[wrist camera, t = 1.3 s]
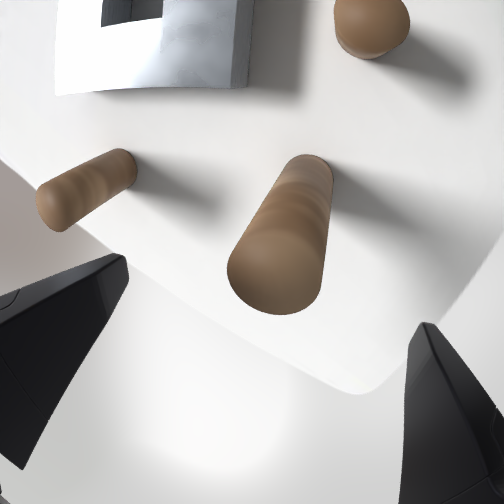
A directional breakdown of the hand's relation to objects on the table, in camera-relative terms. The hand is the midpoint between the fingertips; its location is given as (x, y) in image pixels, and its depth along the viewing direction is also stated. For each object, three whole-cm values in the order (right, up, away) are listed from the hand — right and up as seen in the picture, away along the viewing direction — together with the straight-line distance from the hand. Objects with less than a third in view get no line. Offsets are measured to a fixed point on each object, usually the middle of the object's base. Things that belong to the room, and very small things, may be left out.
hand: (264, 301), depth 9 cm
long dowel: (+3, +6, +9) cm, 11 cm away
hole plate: (-6, +17, +5) cm, 19 cm away
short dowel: (+5, +13, +4) cm, 15 cm away
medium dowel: (-10, +7, +12) cm, 17 cm away
